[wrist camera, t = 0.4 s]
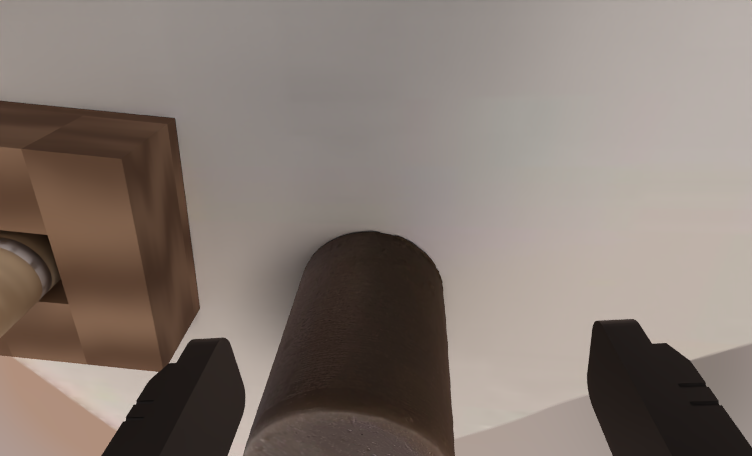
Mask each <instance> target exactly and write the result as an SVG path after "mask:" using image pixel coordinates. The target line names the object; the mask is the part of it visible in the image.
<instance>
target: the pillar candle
mask: <svg viewBox="0 0 752 456" xmlns="http://www.w3.org/2000/svg"><path fill="white" fill-rule="evenodd" d="M435 267H436V266H435V264H434V263H433V261H432V260H431V259H430V258H429V257H428V255H427V254H426V253H424V252H423V251H422V250H421V249H419V248H418V247H417V246H415V245H414V244H413V243H411V242H409V241H408V240H405V239H404V238H401V237H398V236H392V235H388V234H382V233H378V232H360V233H352V234H348V235H344V236H341V237H339V238H336V239H334V240H332V241H330V242H328V243H327V244H325V245H324V246H322V247H321V248H320V249H318V251H317V252H316V253H315V254H314V255H313V256H312V257H311V259H310V261H309V262H308V264H307V266H306V268H305V270H304V273H303V276H302V279H301V282H300V285H299V289H298V291H297V294H296V297H295V300H294V303H293V306H292V309H291V312H290V315H289V318H288V321H287V324H286V327H285V330H284V333H283V336H282V339H281V342H280V345H279V348H278V351H277V354H276V357H275V360H274V363H273V366H272V369H271V372H270V375H269V378H268V381H267V384H266V387H265V390H264V393H263V396H262V398H261V401H260V404H259V407H258V410H257V413H256V416H255V419H254V422H253V425H252V428H251V431H250V435H249V438H248V441H247V443H246V447H245V450H244V454H243V456H455V452H454V433H453V416H452V406H451V391H450V373H449V360H448V341H447V332H446V316H445V305H444V298H443V286H442V280H441V277H440V274H439V271H438V270H437V269H436V268H435Z"/></svg>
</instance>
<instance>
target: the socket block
mask: <svg viewBox="0 0 752 456" xmlns="http://www.w3.org/2000/svg"><path fill="white" fill-rule="evenodd" d="M0 230H4V231H14V232H24V233H34V234H44V235H48V238H49V241H50V245H51V248H52V251H53V254H54V258H55V261H56V264H57V267H58V271H59V274H60V277H61V279H60V280H59V281H58V282H57V283H56V284H55V285H54V286H53V287H52V288H51V289H50V290H49V291H48V292H47V293H46V294H45V295H44V296H43V297H42V298H41V299H40V300H39V301H38V302H37V303H36V304H35V305H34V306H33V307H32V308H31V309H30V310H29V311H27V312H26V313H25V314H24V315H23V316H22V317H21V318H20V319H19V320H18V321H17V322H16V323H15V324H14V325H13V326H12V327H11V328H10V329H9V330H8V331H7V332H6V333H5V334H4V335H3V336H2V337H1V338H0V355H2V356H12V357H21V358H31V359H41V360H50V361H60V362H69V363H79V364H89V365H98V366H108V367H118V368H127V369H137V370H147V371H156V372H160V371H161V370H162V369H163V368H164V367H165V366H166V365H167V364H169V362H170V360H171V358H172V357H173V355H174V353H175V351H176V349H177V348H178V346H179V344H180V342H181V341H182V339H183V337H184V335H185V334H186V332H187V330H188V328H189V327H190V325H191V323H192V321H193V320H194V318H195V316H196V314H197V313H198V311H199V309H200V306H199V298H198V291H197V283H196V276H195V268H194V260H193V253H192V245H191V238H190V230H189V222H188V215H187V207H186V200H185V192H184V184H183V177H182V169H181V162H180V154H179V146H178V139H177V131H176V124H175V118H166V117H156V116H146V115H136V114H126V113H116V112H106V111H96V110H86V109H76V108H65V107H55V106H45V105H35V104H25V103H15V102H5V101H0Z"/></svg>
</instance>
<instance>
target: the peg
mask: <svg viewBox="0 0 752 456" xmlns="http://www.w3.org/2000/svg"><path fill="white" fill-rule="evenodd" d="M60 279H61V277H60V274H59V271H58V267H57V264H56V261H55V258H54V254H53V251H52V248H51V245H50V241H49V238H48V235H44V234H34V233H24V232H14V231H4V230H0V338H1V337H2V336H3V335H4V334H5V333H6V332H7V331H8V330H9V329H10V328H11V327H12V326H13V325H14V324H15V323H16V322H17V321H18V320H19V319H20V318H21V317H22V316H23V315H24V314H25V313H26V312H27V311H29V310H30V309H31V308H32V307H33V306H34V305H35V304H36V303H37V302H38V301H39V300H40V299H41V298H42V297H43V296H44V295H45V294H46V293H47V292H48V291H49V290H50V289H51V288H52V287H53V286H54V285H55V284H56V283H57V282H58V281H59V280H60Z"/></svg>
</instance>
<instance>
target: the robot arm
mask: <svg viewBox="0 0 752 456" xmlns="http://www.w3.org/2000/svg"><path fill="white" fill-rule="evenodd" d="M587 384H588V392H589V397H590V400H591V403H592V406H593V409H594V411H595V414H596V416H597V419H598V421H599V423H600V426H601V428H602V431H603V433H604V435H605V438H606V440H607V443H608V445H609V447H610V450H611V452H612V455H613V456H752V447H751V446H750V444H749V443H748V442H747V440H746V439H745V437H744V436H743V435H742V433H741V432H740V430H739V429H738V428H737V426H736V425H735V423H734V422H733V421H732V419H731V418H730V416H729V415H728V413H727V412H726V411H725V409H724V408H723V406H722V405H721V406H720V405H719V403H718V400H717V398H716V397H715V395H714V394H713V393H712V391H711V390H710V388H709V387H706V384H705V381H704V380H703V378H702V377H701V376H700V374H699V373H698V371H697V370H696V368H695V367H694V366H693V364H692V363H691V361H690V360H688V359H687V358H686V357H684V356H683V355H681V354H680V353H679V352H677V351H676V350H675V349H673V348H672V347H671V346H669V345H668V344H667V343H659V344H652V343H651V342H650V340H649V338H648V337H647V335H646V334H645V332H644V331H643V329H642V327H641V326H640V324H639V323H638V322H637V321H636V320H634V319H624V320H604V321H595V322H594V325H593V329H592V337H591V346H590V355H589V364H588V372H587ZM244 407H245V389H244V385H243V381H242V378H241V375H240V372H239V369H238V366H237V363H236V360H235V357H234V354H233V351H232V348H231V345H230V342H229V341H228V340H227V339H226V338H210V339H193V340H191V341H190V342H189V343H188V344H187V346H186V348H185V349H184V351H183V353H182V354H181V356H180V358H179V359H178V361H177V363H169V364H167V365H166V366H165V367H164V368H163V369H162V370H161V371H160V372H158V373H157V374H156V375H155V376H154V377H153V378H152V379H151V380H150V381H149V382H148V383H147V385H146V386H145V388H144V390H143V391H142V393H141V394H140V396H139V398H138V399H137V403H136V405H133V407H132V409H131V410H130V412H129V413H128V415H127V416H126V421H125V422H123V423H122V424H121V426H120V427H119V429H118V431H117V432H116V434H115V435H114V437H113V438H112V440H111V442H110V443H109V445H108V446H107V448H106V449H105V451H104V453H103V454H102V456H227V455H228V453H229V450H230V447H231V445H232V442H233V439H234V437H235V434H236V432H237V429H238V426H239V424H240V421H241V418H242V416H243V412H244Z"/></svg>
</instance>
